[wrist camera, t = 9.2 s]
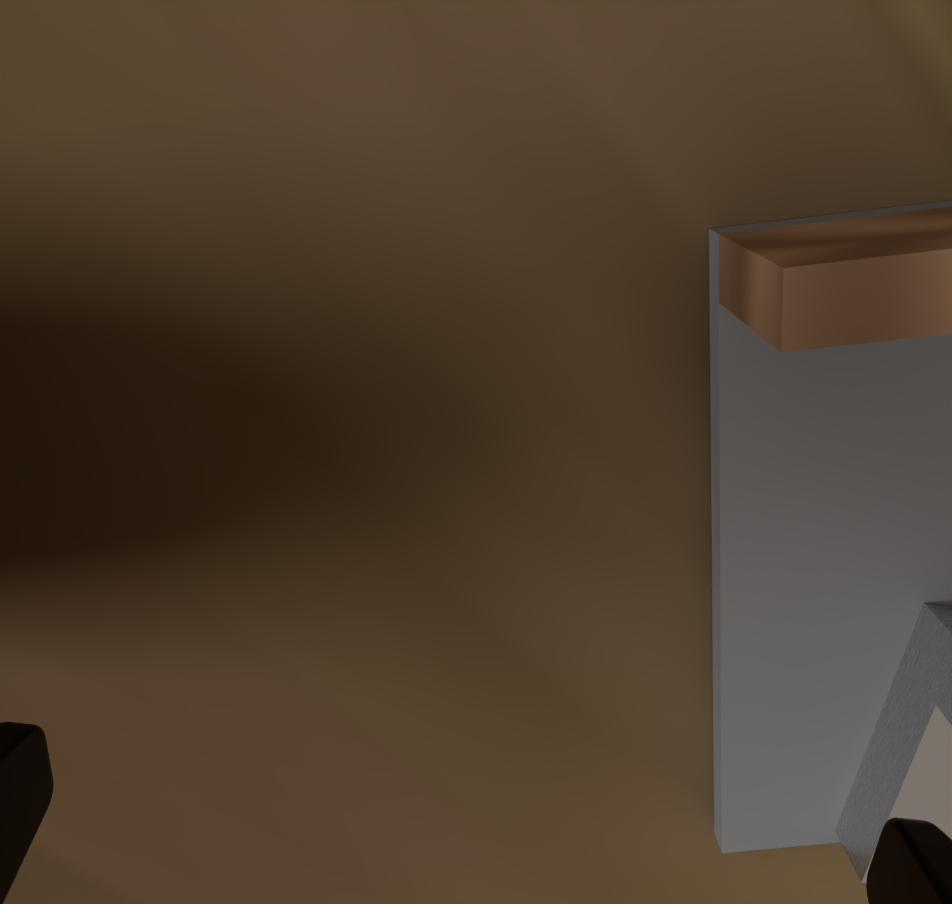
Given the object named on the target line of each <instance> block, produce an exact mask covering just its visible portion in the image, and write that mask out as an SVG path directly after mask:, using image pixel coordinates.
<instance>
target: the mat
mask: <svg viewBox="0 0 952 904" xmlns="http://www.w3.org/2000/svg"><path fill="white" fill-rule="evenodd" d="M943 207H952V200H948V201H940V202H931V203H923V204H914V205H906V206H897V207H889V208H880V209H872V210H863V211H855V212H846V213H838V214H829V215H821V216H812V217H804V218H796V219H787V220H779V221H770V222H762V223H753V224H745V225H736V226H728V227H719V228H711V229H709V303H710V414H711V524H712V635H713V746H714V832H715V835H716V838H717V841H718V844H719V847H720V850H721V853H730V852H740V851H751V850H762V849H772V848H783V847H794V846H804V845H815V844H826V843H836V842H841V841H840V839H839V837H838V835H837V833H836V831H835V828H836V826H837V823H838V820H839V818H840V815H841V813H842V810H843V808H844V805H845V803H846V800H847V797H848V795H849V792H850V790H851V787H852V785H853V782H854V780H855V777H856V774H857V772H858V769H859V767H860V764H861V762H862V759H863V757H864V754H865V751H866V749H867V746H868V744H869V741H870V739H871V736H872V733H873V731H874V728H875V726H876V723H877V721H878V718H879V716H880V713H881V710H882V708H883V705H884V703H885V700H886V698H887V695H888V693H889V690H890V687H891V685H892V682H893V680H894V677H895V675H896V672H897V670H898V667H899V664H900V662H901V659H902V657H903V654H904V652H905V649H906V647H907V644H908V641H909V639H910V636H911V634H912V631H913V629H914V626H915V624H916V621H917V618H918V616H919V613H920V611H921V608H922V606H923V603H931V604H940V605H949V606H952V333H951V334H942V335H933V336H924V337H915V338H907V339H898V340H889V341H880V342H871V343H862V344H854V345H845V346H836V347H827V348H818V349H809V350H800V351H792V352H783V353H781V352H780V351H779V350H777V349H776V348H775V347H774V346H772V345H771V344H770V343H769V342H767V341H766V340H765V339H764V338H762V337H761V336H760V335H759V334H757V333H756V332H755V331H754V330H752V329H751V328H750V327H749V326H747V325H746V324H745V323H744V322H742V321H741V320H740V319H739V318H737V317H736V316H735V315H734V314H732V313H731V312H730V311H729V310H727V309H726V308H725V307H724V306H722V305H721V304H720V303H719V234H723V233H731V232H740V231H748V230H757V229H765V228H774V227H782V226H791V225H799V224H808V223H816V222H825V221H833V220H841V219H850V218H858V217H867V216H875V215H884V214H892V213H901V212H909V211H918V210H926V209H935V208H943Z"/></svg>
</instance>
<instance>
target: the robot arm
mask: <svg viewBox="0 0 952 904" xmlns="http://www.w3.org/2000/svg"><path fill="white" fill-rule="evenodd" d="M52 793H53V776H52V771H51V765H50V759H49V754H48V748H47V742H46V737H45V733H44V731H43V730H42V729H41V728H40V727H39V726H37V725H33V724H24V723H15V722H2V723H0V904H3V903H4V900H5V898H6V896H7V894H8V892H9V890H10V888H11V886H12V883H13V881H14V879H15V877H16V875H17V873H18V871H19V868H20V866H21V864H22V862H23V860H24V858H25V856H26V854H27V851H28V849H29V847H30V845H31V843H32V841H33V839H34V837H35V834H36V832H37V830H38V828H39V826H40V824H41V822H42V819H43V817H44V815H45V813H46V811H47V809H48V806H49V804H50V801H51V798H52ZM866 888H867V897H868V902H869V904H952V839H951V838H950V837H948V836H947V835H946V834H945V833H944V832H943V831H942V830H941V829H939V828H938V827H937V826H936V825H934V824H933V823H931V822H928V821H925V820H916V819H907V818H898V817H895V818H890V819H889V820H888V821H887V822H886V823H885V824H884V826H883V829H882V831H881V834H880V837H879V840H878V843H877V846H876V849H875V852H874V855H873V858H872V861H871V864H870V867H869V870H868V874H867V883H866Z"/></svg>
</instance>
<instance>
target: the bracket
mask: <svg viewBox="0 0 952 904" xmlns="http://www.w3.org/2000/svg"><path fill="white" fill-rule="evenodd" d="M895 817H898V818H907V819H916V820H925V821H928V822H931V823H933V824H934V825H936V826H937V827H938V828H939V829H941V830H942V831H943V832H944V833H945V834H946V835H947V836H948V837H950V838H951V839H952V606H949V605H940V604H931V603H923V606H922V608H921V611H920V613H919V616H918V618H917V621H916V624H915V626H914V629H913V631H912V634H911V636H910V639H909V641H908V644H907V647H906V649H905V652H904V654H903V657H902V659H901V662H900V664H899V667H898V670H897V672H896V675H895V677H894V680H893V682H892V685H891V687H890V690H889V693H888V695H887V698H886V700H885V703H884V705H883V708H882V710H881V713H880V716H879V718H878V721H877V723H876V726H875V728H874V731H873V733H872V736H871V739H870V741H869V744H868V746H867V749H866V751H865V754H864V757H863V759H862V762H861V764H860V767H859V769H858V772H857V774H856V777H855V780H854V782H853V785H852V787H851V790H850V792H849V795H848V797H847V800H846V803H845V805H844V808H843V810H842V813H841V815H840V818H839V820H838V823H837V826H836V828H835V831H836V833H837V835H838V837H839V839H840V841H841V843H842V845H843V847H844V849H845V851H846V853H847V855H848V857H849V859H850V861H851V863H852V865H853V867H854V869H855V871H856V873H857V875H858V877H859V879H860V881H861V882H862V883H867V874H868V870H869V867H870V864H871V861H872V858H873V855H874V852H875V849H876V846H877V843H878V840H879V837H880V834H881V831H882V829H883V826H884V824H885V823H886V822H887V821H888V820H889V819H890V818H895Z"/></svg>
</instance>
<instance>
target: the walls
mask: <svg viewBox="0 0 952 904" xmlns="http://www.w3.org/2000/svg"><path fill="white" fill-rule="evenodd" d="M719 303H720V304H721V305H722V306H724V307H725V308H726V309H727V310H729V311H730V312H731V313H732V314H734V315H735V316H736V317H737V318H739V319H740V320H741V321H742V322H744V323H745V324H746V325H747V326H749V327H750V328H751V329H752V330H754V331H755V332H756V333H757V334H759V335H760V336H761V337H762V338H764V339H765V340H766V341H767V342H769V343H770V344H771V345H772V346H774V347H775V348H776V349H777V350H779V351H780V352H781V353H783V352H792V351H800V350H809V349H818V348H827V347H836V346H845V345H854V344H862V343H871V342H880V341H889V340H898V339H907V338H915V337H924V336H933V335H942V334H951V333H952V207H943V208H935V209H926V210H918V211H909V212H901V213H892V214H884V215H875V216H867V217H858V218H850V219H841V220H833V221H825V222H816V223H808V224H799V225H791V226H782V227H774V228H765V229H757V230H748V231H740V232H731V233H723V234H719Z"/></svg>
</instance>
